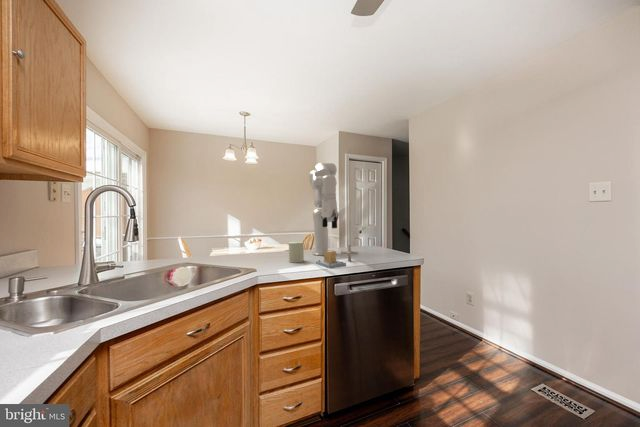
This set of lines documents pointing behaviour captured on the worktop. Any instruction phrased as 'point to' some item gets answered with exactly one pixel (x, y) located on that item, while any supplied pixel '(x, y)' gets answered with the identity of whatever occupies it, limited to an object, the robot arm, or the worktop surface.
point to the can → (296, 251)
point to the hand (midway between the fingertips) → (329, 227)
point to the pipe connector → (349, 252)
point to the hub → (330, 257)
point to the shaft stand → (330, 265)
